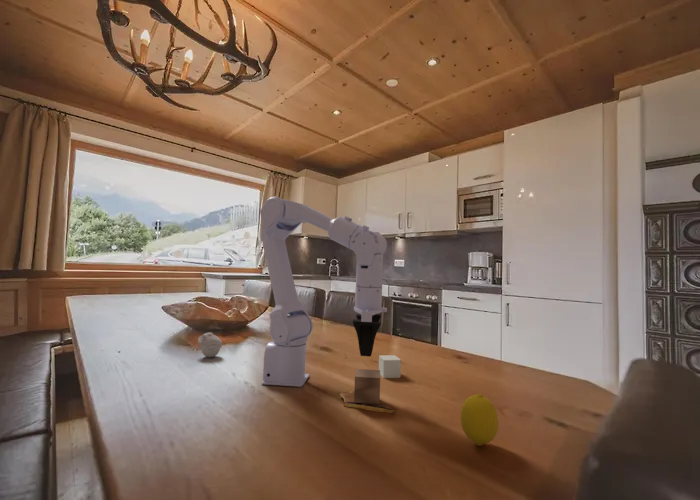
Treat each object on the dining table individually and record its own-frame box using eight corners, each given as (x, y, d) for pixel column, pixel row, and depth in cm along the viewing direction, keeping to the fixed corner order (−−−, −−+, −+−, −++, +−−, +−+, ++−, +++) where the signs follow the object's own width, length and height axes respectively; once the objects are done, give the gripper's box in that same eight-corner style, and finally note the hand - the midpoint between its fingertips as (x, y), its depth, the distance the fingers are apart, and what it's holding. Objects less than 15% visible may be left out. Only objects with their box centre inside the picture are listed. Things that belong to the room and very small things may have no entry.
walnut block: (354, 402, 64) (354, 376, 64) (355, 392, 69) (356, 368, 69) (379, 404, 63) (380, 378, 64) (379, 394, 68) (379, 370, 69)
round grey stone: (204, 353, 98) (205, 330, 99) (226, 355, 97) (227, 331, 98) (192, 358, 92) (193, 334, 93) (215, 360, 91) (216, 335, 92)
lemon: (454, 436, 54) (455, 387, 54) (486, 436, 54) (487, 387, 55) (469, 455, 48) (470, 400, 49) (505, 455, 49) (505, 400, 49)
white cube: (383, 378, 82) (383, 360, 82) (378, 372, 86) (379, 355, 86) (400, 378, 83) (400, 360, 83) (394, 372, 87) (395, 355, 87)
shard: (394, 418, 62) (394, 408, 62) (358, 425, 58) (359, 415, 58) (367, 396, 71) (367, 388, 72) (335, 401, 68) (335, 393, 68)
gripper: (388, 289, 62) (386, 361, 62) (386, 285, 77) (385, 344, 76) (351, 288, 63) (349, 359, 62) (357, 284, 77) (355, 342, 77)
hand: (366, 351), depth 69 cm, fingers open, 7 cm apart
